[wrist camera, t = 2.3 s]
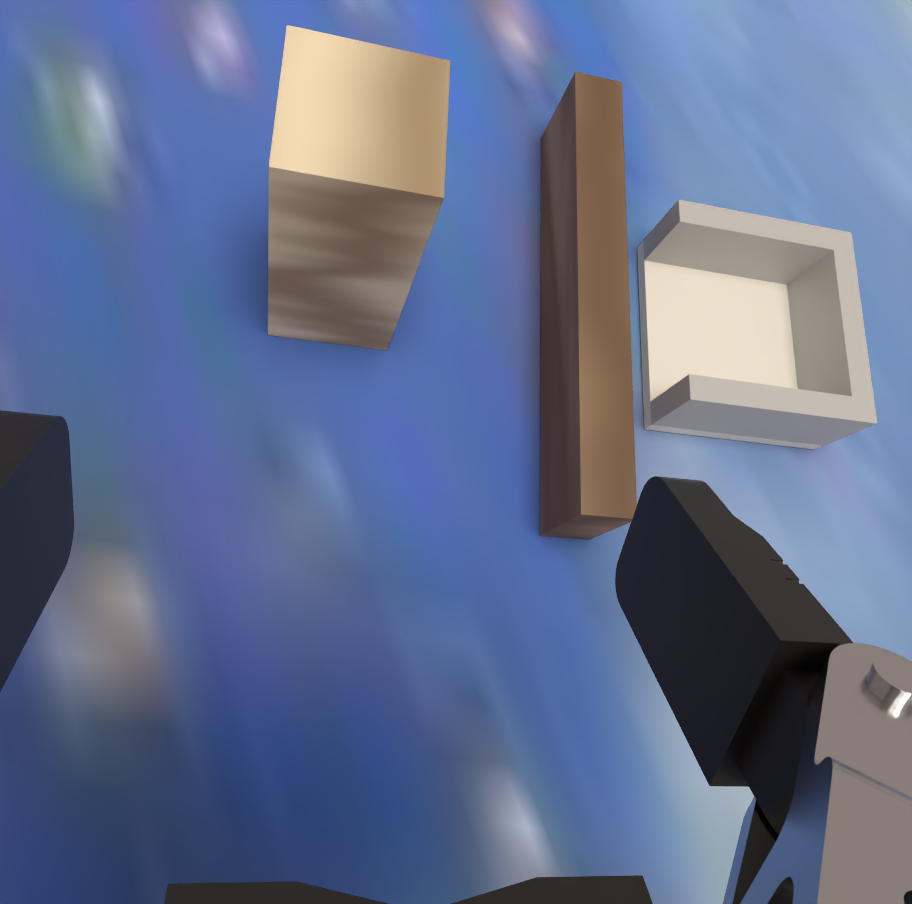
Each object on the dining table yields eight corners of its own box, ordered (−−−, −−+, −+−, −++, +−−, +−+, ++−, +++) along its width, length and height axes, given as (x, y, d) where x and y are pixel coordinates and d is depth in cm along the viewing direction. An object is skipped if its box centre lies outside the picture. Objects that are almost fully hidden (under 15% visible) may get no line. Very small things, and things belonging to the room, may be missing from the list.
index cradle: (644, 429, 31) (690, 399, 28) (637, 247, 33) (678, 199, 30) (814, 449, 33) (877, 423, 29) (795, 274, 35) (851, 232, 32)
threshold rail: (539, 535, 29) (581, 514, 25) (541, 138, 34) (575, 71, 30) (589, 539, 29) (637, 519, 25) (583, 146, 34) (621, 82, 31)
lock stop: (267, 334, 28) (268, 166, 19) (280, 230, 30) (287, 25, 20) (387, 350, 29) (443, 198, 20) (394, 248, 31) (450, 60, 21)
